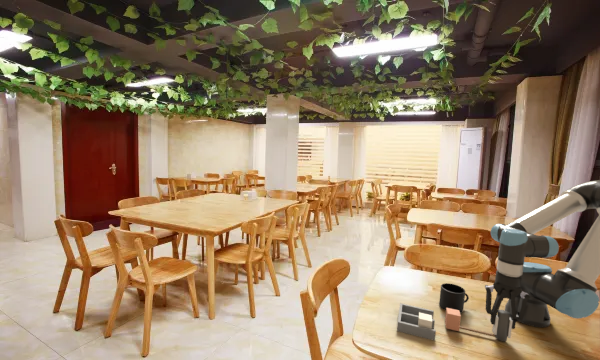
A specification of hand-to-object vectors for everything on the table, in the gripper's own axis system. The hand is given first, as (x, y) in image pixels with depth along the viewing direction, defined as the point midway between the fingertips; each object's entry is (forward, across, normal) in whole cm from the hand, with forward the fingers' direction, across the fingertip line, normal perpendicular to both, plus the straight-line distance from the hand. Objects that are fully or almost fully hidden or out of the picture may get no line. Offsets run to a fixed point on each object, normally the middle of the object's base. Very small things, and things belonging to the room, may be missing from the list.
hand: (501, 334), depth 106 cm
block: (+2, +26, +7) cm, 27 cm away
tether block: (+2, +8, 0) cm, 8 cm away
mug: (+3, +14, -18) cm, 22 cm away
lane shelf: (+2, +28, +4) cm, 29 cm away
